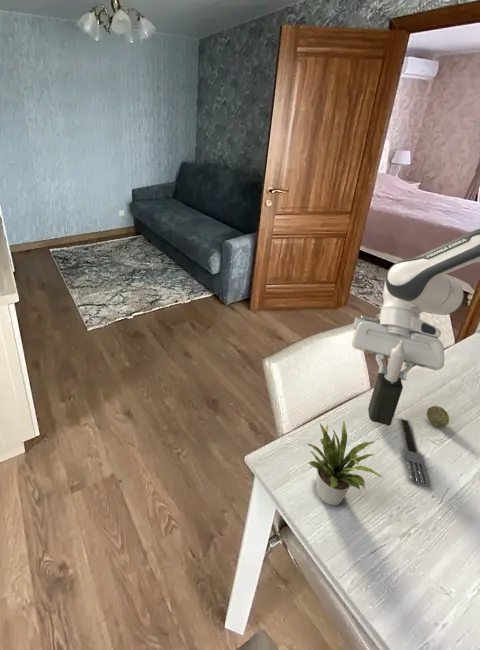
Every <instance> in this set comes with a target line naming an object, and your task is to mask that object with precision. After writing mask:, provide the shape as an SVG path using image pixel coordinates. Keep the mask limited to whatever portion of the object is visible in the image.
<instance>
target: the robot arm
mask: <svg viewBox="0 0 480 650" xmlns="http://www.w3.org/2000/svg"><path fill="white" fill-rule="evenodd" d="M479 262H480V228H477V229H474V230H472V231H470V232H467V233H465V234H463V235H460V236H458V237H456V238H454V239H451V240H450V241H447V242H445V243H443V244H441V245H439V246H437V247H435V248H432V249H430V250H428V251H426V252H424V253H421V254H419V255H415V256H412V257H407V258H403V259H401V260H399V261H397V262H395V263H394V264H392V265H391V266H390V268H389V269H388V270H387V272H386V275H385V280H384V285H383V292H382V298H383V303H382V305H381V308H380V313H379V318H374V317H368V316H365V315H361V316H357V317H355V319H354V320H353V325H352V326H353V329H354V333H353V336H352V340H351V346H352V348H353V349H355V350H358V351H360V352H361V351H362V352H365V353H369V354H373V355H375V360H376V362H377V365H378V366H379V368H378V373H381V374H384V375H386V374H387V371H386V370H387V366H384V363H383V361H382V360H384V358H388V359H390V355H391V352H392V349H394V348H396V347H397V346H398V345H399V343H400V341H403V342H404V344H403V349H404V352H405V354H406V355H405V358H404V362H403V364H404V365H403V366H404V367H405V369H404V370H403V371H402V370H401V371H400V374H399V377H398V379H401V381H406V380H407V374H408V373H409V372H410V371H411V370H412V369H413V367H414V366H418V367H421V368H425V369H429V370H432V371H440V370H441V369H443V368H444V367H445V349H444V345H443V342H442V341H441V340H440V339H439V338H440V337H441V335H442V331H441V329H440V328H438V327H436V326H435V325H432V324H431V323H429V322H426V321H425V320H422V319H421V318H420V317H421V316H420V315H421V314H422V313H428V314H432V315H433V314H434V315H439V316H446V315H450V314H453V313H455V312H456V311H457V310H458V309H460V307H461V306H462V304H463V302H464V299H465V292H464V289H463V287H462V286H461V284H459V283H458V282H456V281H454V280H453V279H451V278H450V277H448V276H446V275H447V274H449V273H452V272H454V271H456V270H459V269H461V268H465V267H466V266H469V265H472V264H475V263H479Z"/></svg>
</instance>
